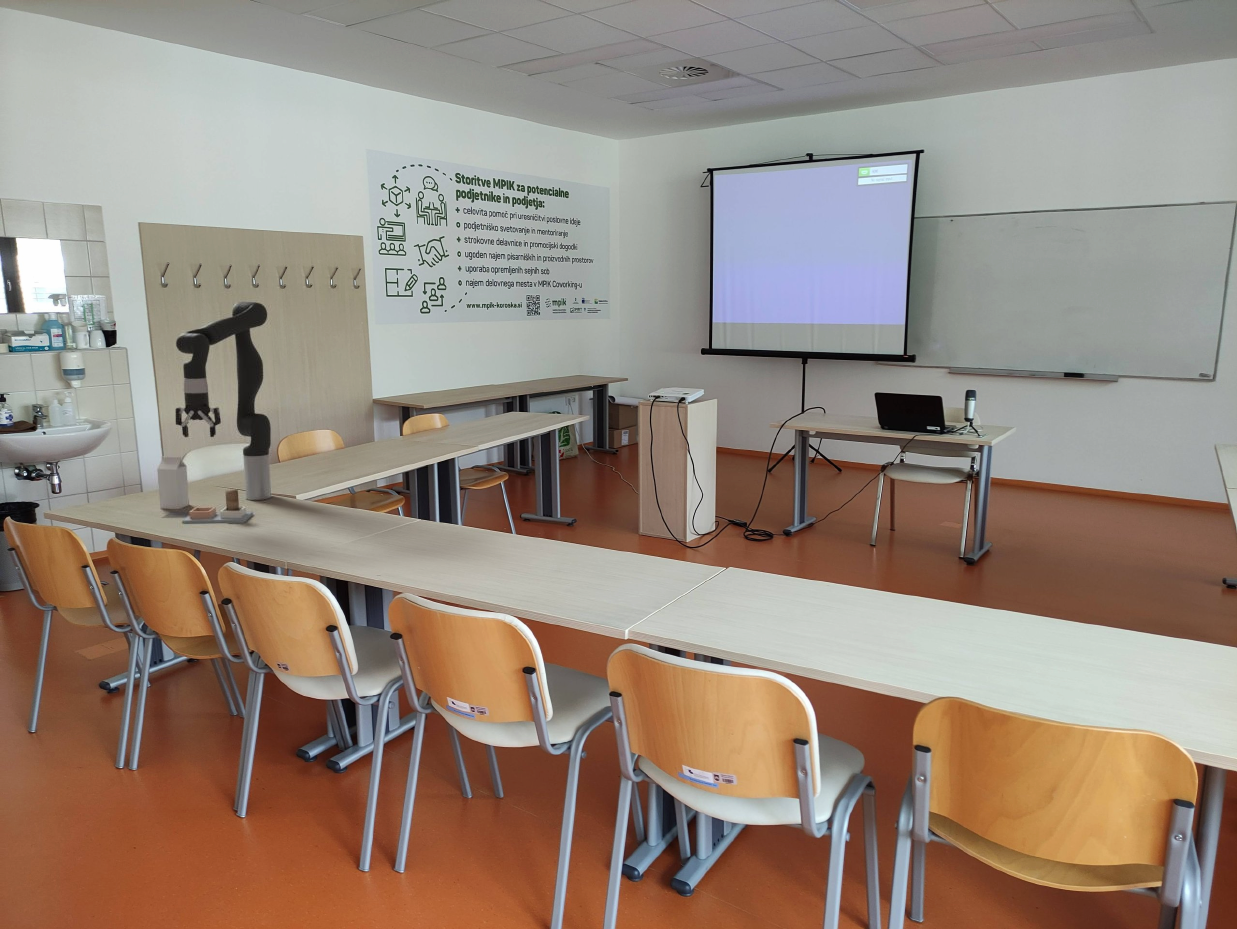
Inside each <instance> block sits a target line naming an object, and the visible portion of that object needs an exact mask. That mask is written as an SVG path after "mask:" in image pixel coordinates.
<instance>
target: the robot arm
mask: <svg viewBox="0 0 1237 929" xmlns="http://www.w3.org/2000/svg"><path fill="white" fill-rule="evenodd" d="M231 312H232V313H231V316H230V317H229V316H228V317H225V318H220V319H218V320H214V321H212V322H210V323H208V324H206V325H204V326H202V327H200V328H195V329H192V330H189V331H186V332H183V333H181V334H180V335H179V336H178V337H177V339H176V341H175V346H176V348H177V350H178V351H179V352H181V353H182V354H185V355H186V354H187V355H192V357H191V360H187V361H185V362H184V363H183V365H182V368H183V392H184V406H185V407H176V408H175V425H176V426H180V427H181V428H182V429H181V431H182V436H184V438H189V434H190V433H189V426H188V424H189V423H190V422H191V421H205V422H206V423H207V424H208V425H209V436H210V437H209V438H214V437H215V436H216V434H217V432H216V427H217V426H218V425H221V423H222V421H221V412H220V408H219V407H217V406H216V407H210V401H209V386H208V385H209V384H208V380H207V379H208V378H207V368H206V366H207V362H208V357H209V353H210V347H211V346H213V345H216V344H218V343H220V342H222V341H224V340H225V339H228V338H230V337H231V336H234V340H235V351H236V352H235V353H236V378H237V410H236V413H237V414H236V427H237V431H238V433H239V434H240V435H242V437H249V438H250V444H248V445H247V446H243V448H242V455H243V456H242V457H243V473H244V486H245V488H244V489H245V491H244V492H245V499H246V500H250V501H261V500H268V499H271V498H272V485H271V483H272V481H271V465H270V448H271V444H272V442H271V441H272V440H271V439H272V438H271V437H272V436H271V434H272V432H271V431H272V430H271V429H272V427H271V421H270V418H269V417H268V416H267V415H265V414H262V413H257V412H256V411H255V409H256V408H255V404H256V403H255V401H256V398H257V397H256V396H258V395H257V394H258V393H259V390H260V389H261V386H262V385H263V384H262V383H263V381H264V364H263V363H264V362H263V359H262V357H261V356H260V353H259V351H258V350H257V348H256V347H255V345H254V343H253V341H252V337H251V329H254V328H258V327H262V326H263V325H264V324H265V323H266V322H267V320H268V312H267V308H266V307H265V305H264V304H263V303H259V302H255V301H238V302H236V303H235V304H234V305H233V307H232V311H231ZM184 413H185V415H186V417H185V418H184V419H182V417H183V414H184ZM210 413H212V415H213V416H214V420H213V418H212V417H211V416H210V415H209V414H210ZM182 420H183V421H182Z"/></svg>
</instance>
